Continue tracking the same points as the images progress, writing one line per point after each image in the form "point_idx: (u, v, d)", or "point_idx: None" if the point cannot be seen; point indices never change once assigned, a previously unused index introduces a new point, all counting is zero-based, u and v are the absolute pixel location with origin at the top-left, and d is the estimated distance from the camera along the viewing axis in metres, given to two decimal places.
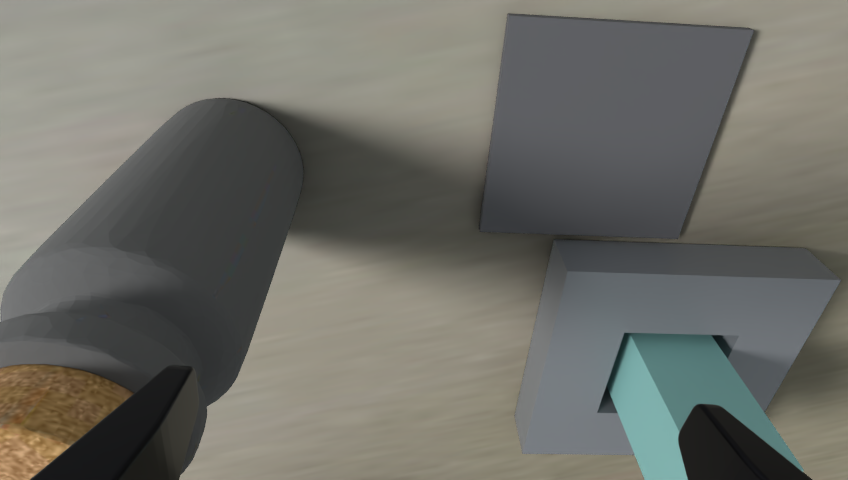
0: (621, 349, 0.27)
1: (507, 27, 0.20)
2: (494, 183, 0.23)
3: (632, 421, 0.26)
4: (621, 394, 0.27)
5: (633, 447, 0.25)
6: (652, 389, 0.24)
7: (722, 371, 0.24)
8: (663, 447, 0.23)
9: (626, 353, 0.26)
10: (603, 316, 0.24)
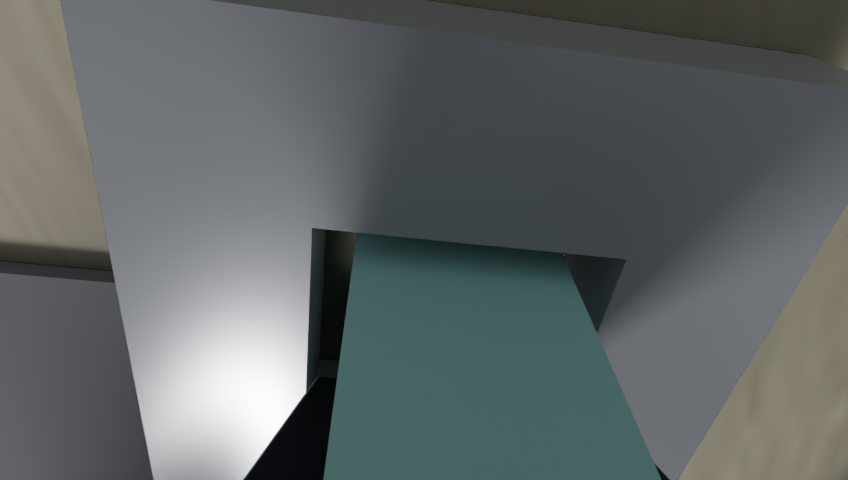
0: None
1: None
2: None
3: None
4: None
5: None
6: None
7: None
8: None
9: None
10: None
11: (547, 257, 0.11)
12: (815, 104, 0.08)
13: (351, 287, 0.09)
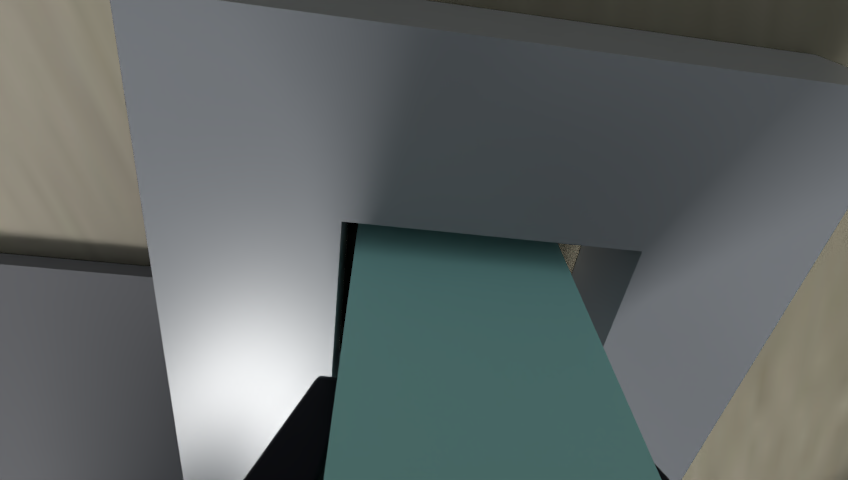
0: None
1: None
2: None
3: None
4: None
5: None
6: None
7: None
8: None
9: None
10: None
11: (547, 257, 0.11)
12: (824, 101, 0.09)
13: (351, 287, 0.09)
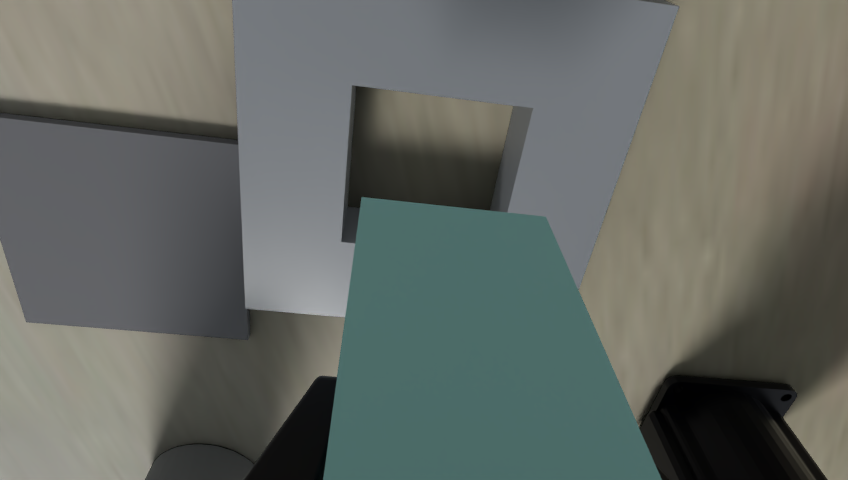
0: None
1: (38, 321, 0.23)
2: (190, 329, 0.23)
3: None
4: None
5: None
6: None
7: None
8: None
9: None
10: (313, 268, 0.19)
11: (547, 256, 0.11)
12: (626, 10, 0.15)
13: (351, 286, 0.09)
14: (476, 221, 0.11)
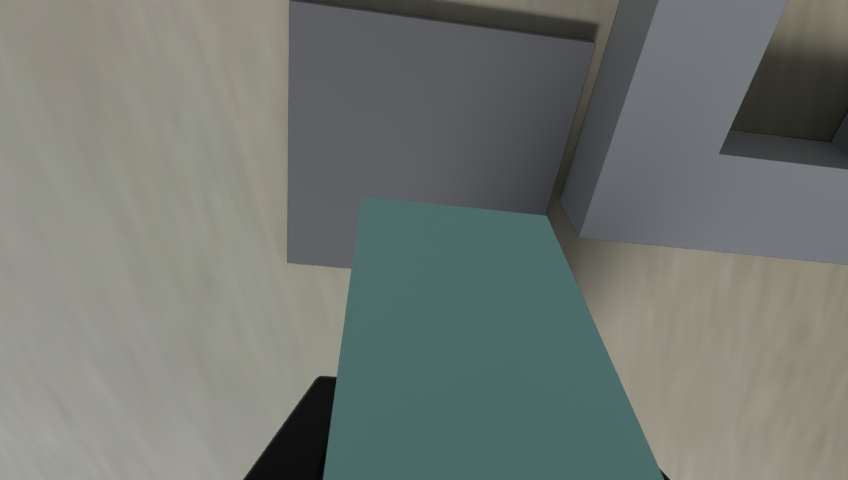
0: None
1: (299, 262, 0.20)
2: None
3: None
4: None
5: None
6: None
7: None
8: None
9: None
10: (673, 186, 0.17)
11: (548, 255, 0.11)
12: None
13: (351, 285, 0.09)
14: (477, 220, 0.11)
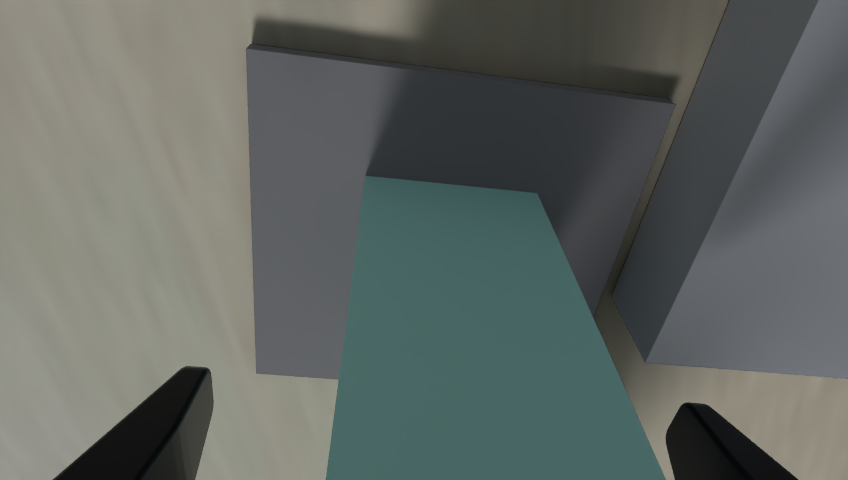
0: None
1: None
2: None
3: None
4: None
5: None
6: None
7: None
8: None
9: None
10: (781, 301, 0.12)
11: (537, 227, 0.11)
12: None
13: (357, 251, 0.10)
14: (472, 197, 0.12)
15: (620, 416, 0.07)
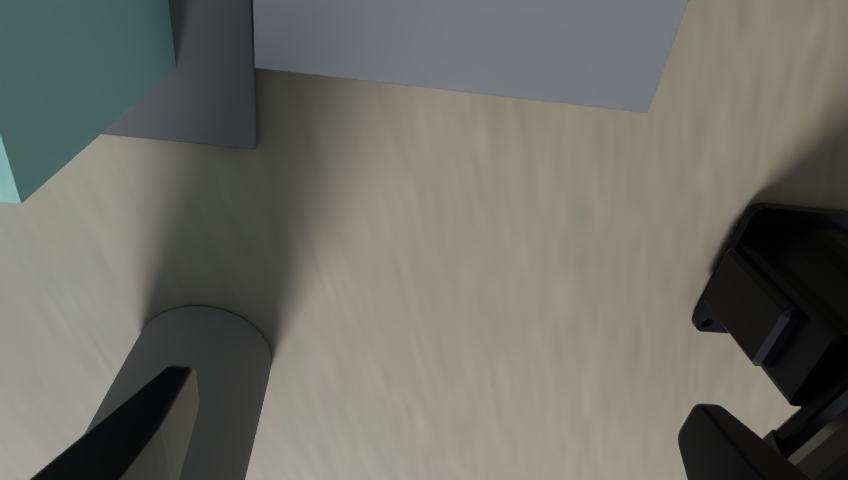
0: None
1: None
2: (183, 133, 0.19)
3: None
4: None
5: None
6: None
7: None
8: None
9: None
10: (342, 0, 0.15)
11: None
12: None
13: None
14: None
15: None
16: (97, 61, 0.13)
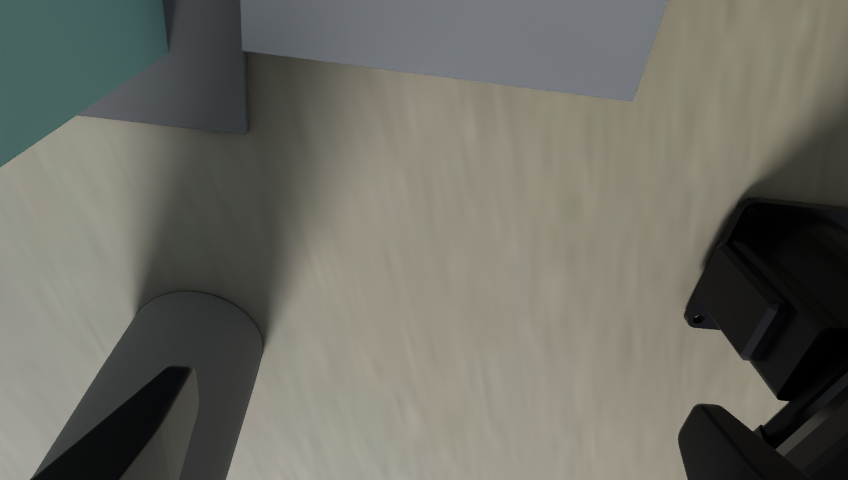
0: None
1: None
2: (175, 117, 0.19)
3: None
4: None
5: None
6: None
7: None
8: None
9: None
10: None
11: None
12: None
13: None
14: None
15: None
16: (82, 37, 0.13)
